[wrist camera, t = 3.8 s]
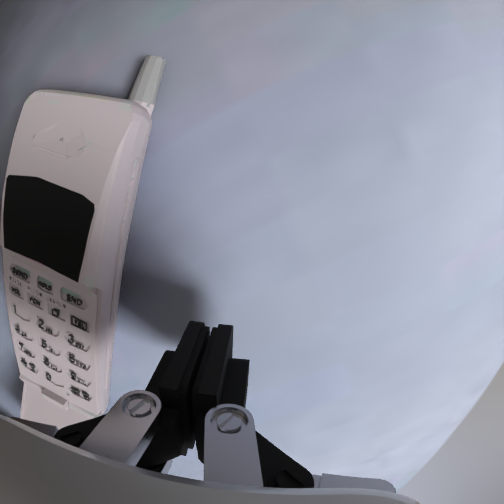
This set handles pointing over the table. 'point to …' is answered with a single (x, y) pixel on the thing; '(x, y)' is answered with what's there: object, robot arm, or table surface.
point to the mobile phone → (71, 240)
